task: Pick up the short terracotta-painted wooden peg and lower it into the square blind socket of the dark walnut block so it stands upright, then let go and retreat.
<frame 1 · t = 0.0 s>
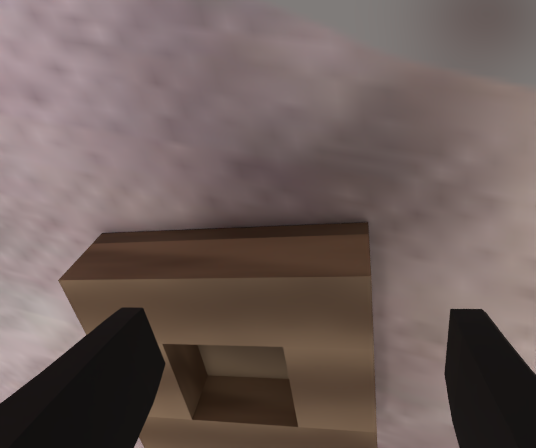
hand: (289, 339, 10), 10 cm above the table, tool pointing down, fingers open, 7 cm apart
socket block: (249, 329, 24), on the table
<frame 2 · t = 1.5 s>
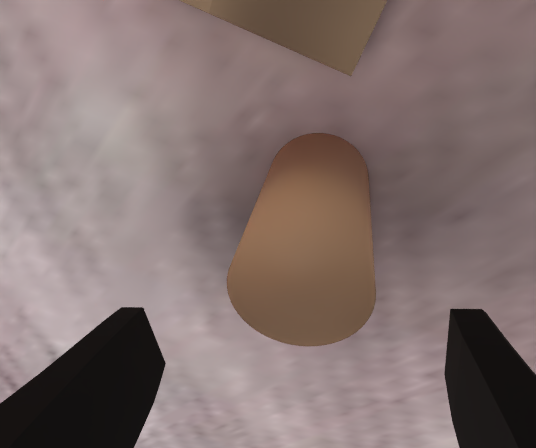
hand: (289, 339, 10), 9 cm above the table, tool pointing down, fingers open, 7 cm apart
peg: (318, 180, 17), on the table
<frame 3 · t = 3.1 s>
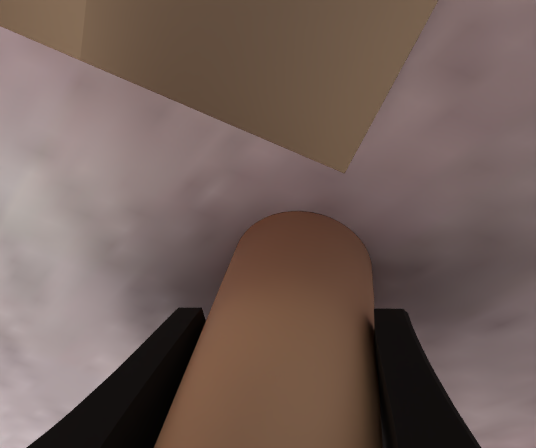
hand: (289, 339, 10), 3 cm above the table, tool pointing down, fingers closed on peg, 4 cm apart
peg: (301, 271, 12), on the table, touching gripper
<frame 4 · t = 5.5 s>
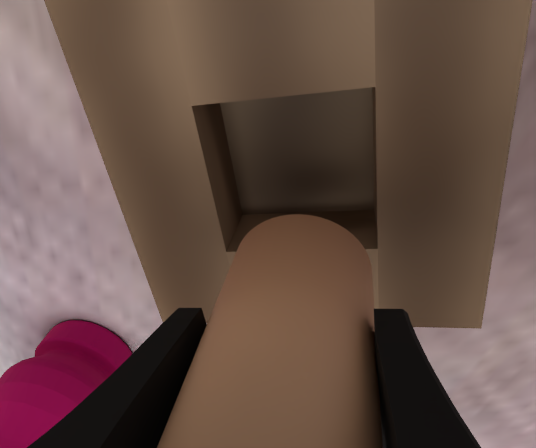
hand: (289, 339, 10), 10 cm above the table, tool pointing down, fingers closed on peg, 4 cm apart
socket block: (301, 141, 18), on the table
pepper mill: (94, 349, 29), on the table
peg: (301, 273, 12), point 8 cm above the table, touching gripper
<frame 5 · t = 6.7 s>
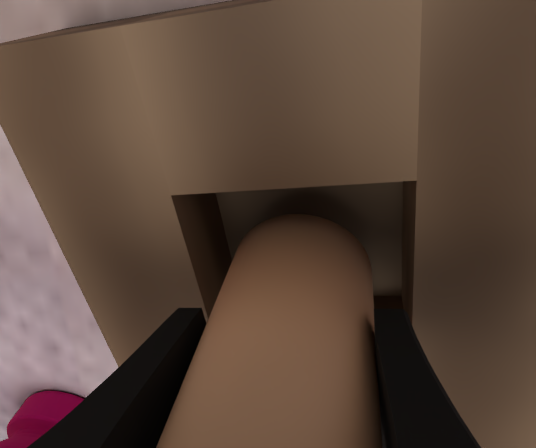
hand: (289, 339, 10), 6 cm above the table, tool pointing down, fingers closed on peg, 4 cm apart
socket block: (311, 213, 15), on the table
pepper mill: (75, 419, 26), on the table
peg: (301, 273, 12), point 3 cm above the table, touching gripper
when the fingers open (5 cm above the table, at t = 7.9 s): peg stays where it is, resting on socket block.
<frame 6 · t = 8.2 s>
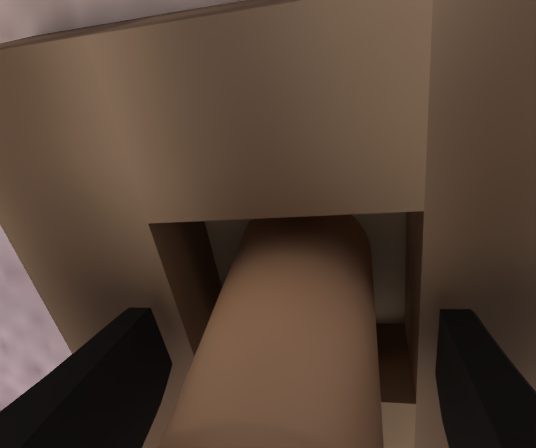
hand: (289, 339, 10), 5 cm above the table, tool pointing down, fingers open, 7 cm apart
socket block: (307, 234, 14), on the table
peg: (305, 253, 13), point 1 cm above the table, touching socket block
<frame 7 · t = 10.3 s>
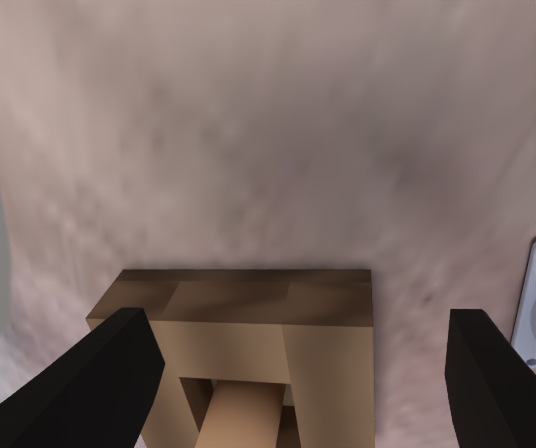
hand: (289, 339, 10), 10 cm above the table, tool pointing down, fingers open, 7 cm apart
socket block: (257, 359, 26), on the table
peg: (254, 373, 25), point 1 cm above the table, touching socket block
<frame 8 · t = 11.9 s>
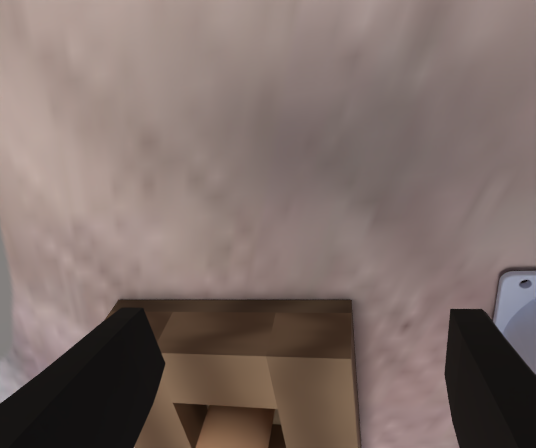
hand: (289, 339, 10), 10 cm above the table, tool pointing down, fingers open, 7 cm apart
socket block: (248, 380, 27), on the table
peg: (245, 394, 27), point 1 cm above the table, touching socket block
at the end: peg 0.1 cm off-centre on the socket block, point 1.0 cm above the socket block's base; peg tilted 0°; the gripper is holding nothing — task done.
